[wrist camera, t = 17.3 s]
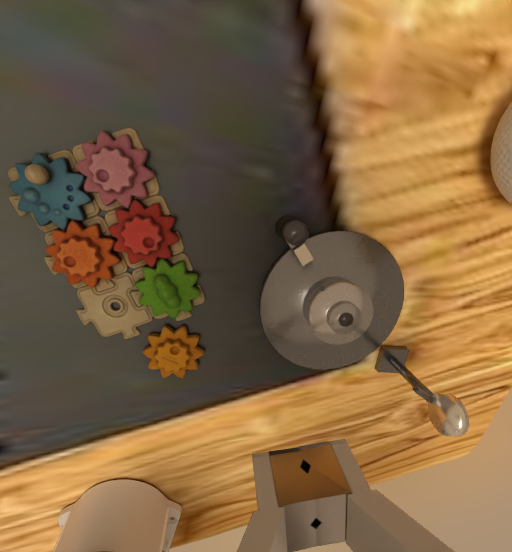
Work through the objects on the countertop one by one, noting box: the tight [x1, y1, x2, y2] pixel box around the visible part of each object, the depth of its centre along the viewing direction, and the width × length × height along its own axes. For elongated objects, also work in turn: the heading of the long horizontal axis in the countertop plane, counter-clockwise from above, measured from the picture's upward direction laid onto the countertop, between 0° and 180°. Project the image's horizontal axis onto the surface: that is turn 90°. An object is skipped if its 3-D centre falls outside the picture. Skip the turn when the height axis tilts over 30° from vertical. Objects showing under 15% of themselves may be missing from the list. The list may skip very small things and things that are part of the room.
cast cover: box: [303, 276, 373, 345], centre depth 35 cm, size 8×8×5 cm
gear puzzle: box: [8, 128, 205, 378], centre depth 33 cm, size 31×16×4 cm, turn 18°
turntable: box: [259, 216, 404, 369], centre depth 35 cm, size 23×20×6 cm
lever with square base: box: [375, 345, 469, 436], centre depth 36 cm, size 4×5×14 cm
